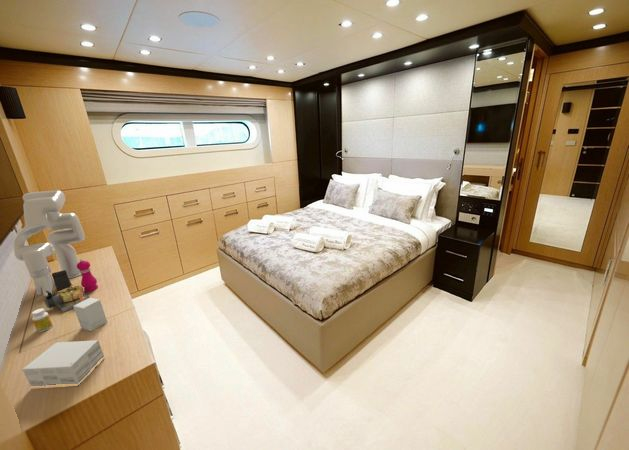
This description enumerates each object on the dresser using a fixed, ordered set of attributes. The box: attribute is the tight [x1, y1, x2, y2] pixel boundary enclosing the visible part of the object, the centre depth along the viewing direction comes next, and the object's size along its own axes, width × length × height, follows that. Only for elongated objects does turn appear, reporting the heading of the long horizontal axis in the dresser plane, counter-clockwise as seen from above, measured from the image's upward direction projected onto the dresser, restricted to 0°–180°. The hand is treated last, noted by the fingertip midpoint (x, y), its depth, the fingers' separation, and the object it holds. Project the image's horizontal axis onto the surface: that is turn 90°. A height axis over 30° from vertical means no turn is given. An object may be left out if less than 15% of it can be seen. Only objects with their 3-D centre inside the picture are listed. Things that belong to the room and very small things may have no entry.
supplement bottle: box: [31, 308, 53, 333], centre depth 123 cm, size 5×5×10 cm
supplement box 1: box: [21, 339, 105, 387], centre depth 98 cm, size 17×13×9 cm
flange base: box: [56, 290, 91, 313], centre depth 144 cm, size 16×12×6 cm
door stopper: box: [51, 270, 73, 293], centre depth 156 cm, size 9×6×12 cm, turn 41°
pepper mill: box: [77, 258, 99, 293], centre depth 155 cm, size 7×7×20 cm
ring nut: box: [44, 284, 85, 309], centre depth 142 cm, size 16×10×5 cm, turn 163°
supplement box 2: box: [73, 297, 108, 332], centre depth 123 cm, size 7×7×13 cm
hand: (52, 301), depth 140 cm, fingers closed
